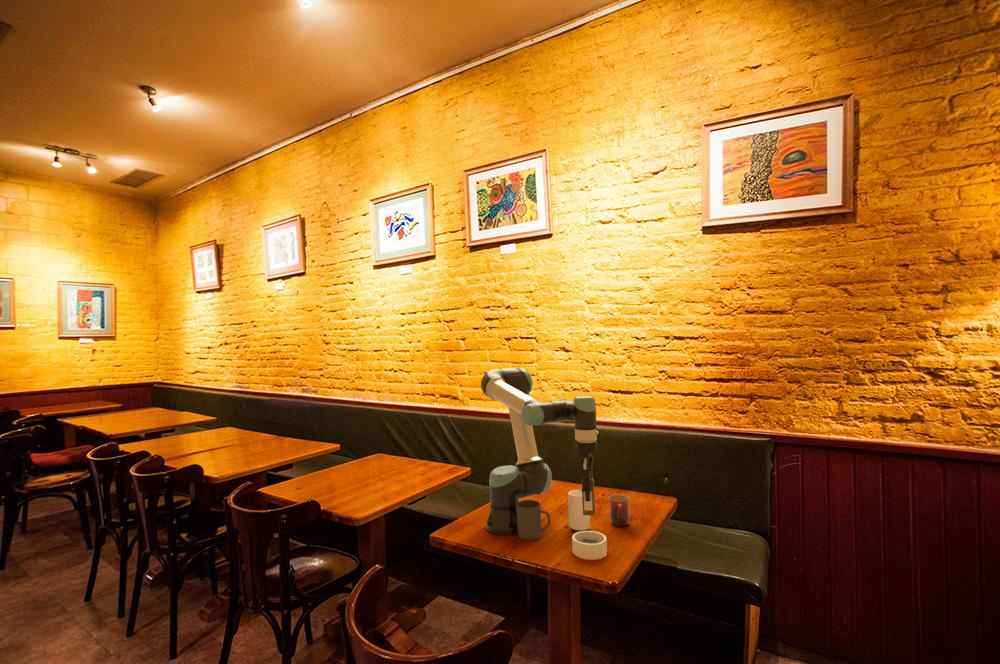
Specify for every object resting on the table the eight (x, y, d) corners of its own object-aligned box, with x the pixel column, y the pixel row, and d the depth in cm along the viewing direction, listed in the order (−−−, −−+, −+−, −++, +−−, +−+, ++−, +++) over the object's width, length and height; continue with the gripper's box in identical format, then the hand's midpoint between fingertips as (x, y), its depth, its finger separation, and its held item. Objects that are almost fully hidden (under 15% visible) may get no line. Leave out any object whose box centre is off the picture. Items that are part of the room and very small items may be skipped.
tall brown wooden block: (582, 514, 162) (581, 480, 162) (583, 512, 164) (582, 478, 165) (594, 515, 161) (593, 480, 161) (595, 513, 163) (593, 478, 164)
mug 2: (608, 518, 192) (607, 493, 193) (630, 519, 191) (629, 494, 191) (609, 530, 181) (608, 503, 181) (632, 531, 179) (631, 504, 179)
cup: (591, 526, 185) (590, 490, 186) (589, 534, 177) (588, 497, 178) (570, 524, 188) (569, 489, 188) (567, 532, 179) (566, 495, 180)
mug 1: (513, 537, 176) (512, 505, 177) (524, 528, 184) (523, 498, 185) (545, 544, 169) (544, 511, 170) (556, 535, 177) (555, 503, 178)
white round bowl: (570, 557, 159) (570, 542, 159) (575, 543, 170) (575, 529, 170) (605, 561, 155) (604, 546, 155) (607, 546, 166) (607, 532, 166)
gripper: (594, 445, 155) (597, 517, 154) (599, 436, 170) (601, 501, 169) (572, 444, 157) (574, 515, 156) (578, 436, 172) (581, 500, 171)
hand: (588, 508), depth 163 cm, fingers closed on tall brown wooden block, 2 cm apart
